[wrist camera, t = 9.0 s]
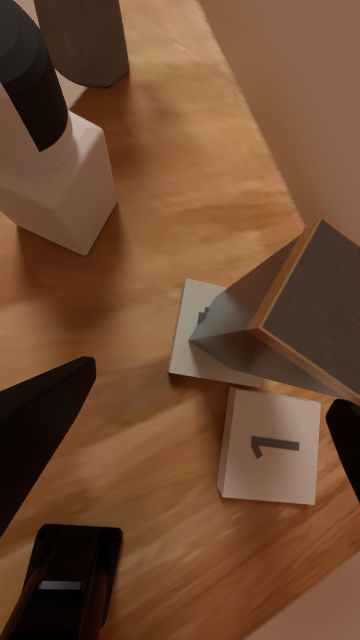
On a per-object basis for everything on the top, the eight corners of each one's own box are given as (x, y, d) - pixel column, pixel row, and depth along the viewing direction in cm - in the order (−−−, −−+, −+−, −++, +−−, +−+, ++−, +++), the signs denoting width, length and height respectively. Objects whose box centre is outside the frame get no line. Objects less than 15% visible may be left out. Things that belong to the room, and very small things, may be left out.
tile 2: (253, 385, 20) (261, 388, 19) (167, 370, 19) (169, 372, 18) (262, 301, 22) (271, 297, 20) (183, 283, 21) (186, 277, 19)
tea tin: (232, 371, 19) (378, 412, 7) (186, 340, 18) (258, 327, 7) (257, 325, 20) (423, 293, 8) (215, 295, 19) (320, 215, 8)
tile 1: (302, 493, 20) (315, 505, 18) (216, 485, 18) (222, 498, 17) (308, 399, 21) (321, 403, 20) (229, 386, 20) (236, 389, 18)
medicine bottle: (53, 167, 20) (-80, -85, 8) (119, 200, 21) (83, 10, 9) (14, 225, 19) (-208, 20, 7) (86, 258, 19) (-6, 122, 8)
